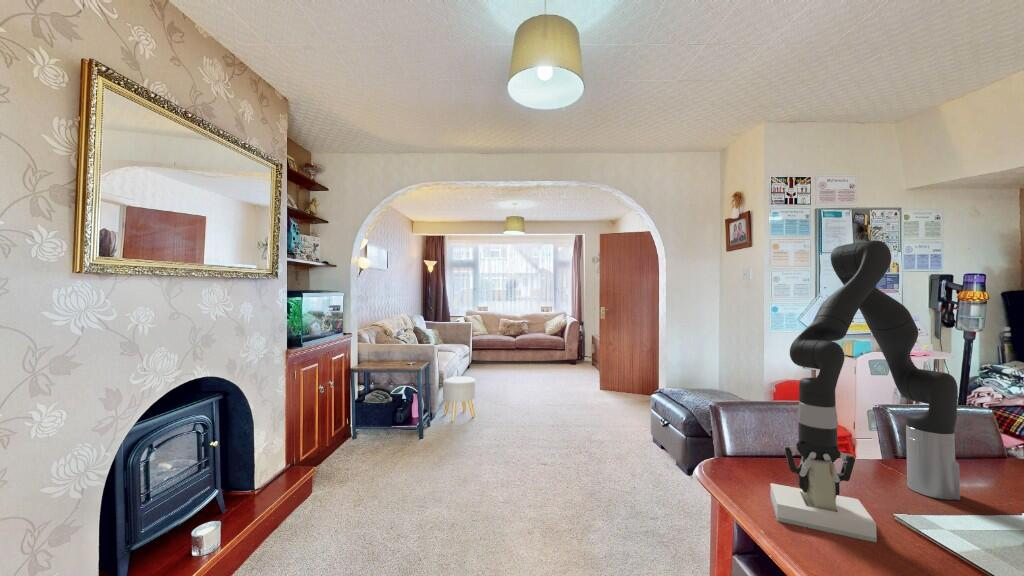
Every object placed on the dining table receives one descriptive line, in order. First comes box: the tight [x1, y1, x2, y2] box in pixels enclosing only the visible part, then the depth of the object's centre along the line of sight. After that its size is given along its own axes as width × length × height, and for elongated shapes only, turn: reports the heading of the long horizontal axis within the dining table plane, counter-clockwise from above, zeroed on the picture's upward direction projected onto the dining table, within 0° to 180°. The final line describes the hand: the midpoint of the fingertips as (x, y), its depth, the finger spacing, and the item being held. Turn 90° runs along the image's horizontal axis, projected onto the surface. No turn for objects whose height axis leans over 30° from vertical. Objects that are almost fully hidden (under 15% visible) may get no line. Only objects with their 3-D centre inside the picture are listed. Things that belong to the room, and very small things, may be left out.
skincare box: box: [801, 455, 836, 512], centre depth 95 cm, size 6×4×12 cm
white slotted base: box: [769, 482, 878, 543], centre depth 95 cm, size 18×12×4 cm, turn 63°
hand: (818, 493), depth 95 cm, fingers closed on skincare box, 5 cm apart
